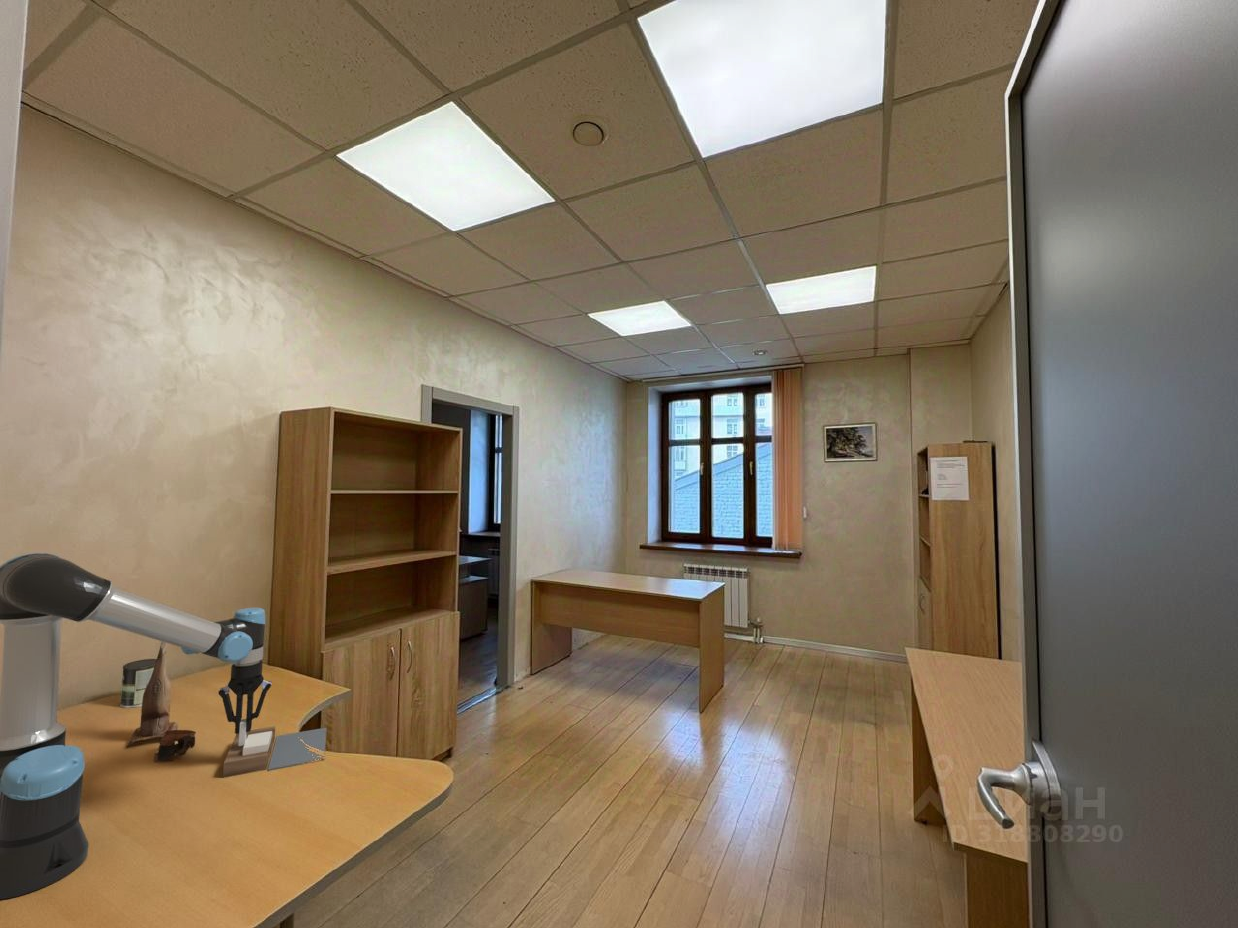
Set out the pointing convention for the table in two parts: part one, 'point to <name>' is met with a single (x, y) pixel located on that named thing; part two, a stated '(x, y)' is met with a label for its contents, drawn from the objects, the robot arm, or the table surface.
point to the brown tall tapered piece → (156, 703)
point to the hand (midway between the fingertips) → (242, 743)
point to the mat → (297, 748)
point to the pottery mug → (170, 748)
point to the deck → (247, 756)
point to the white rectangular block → (257, 743)
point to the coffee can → (135, 682)
